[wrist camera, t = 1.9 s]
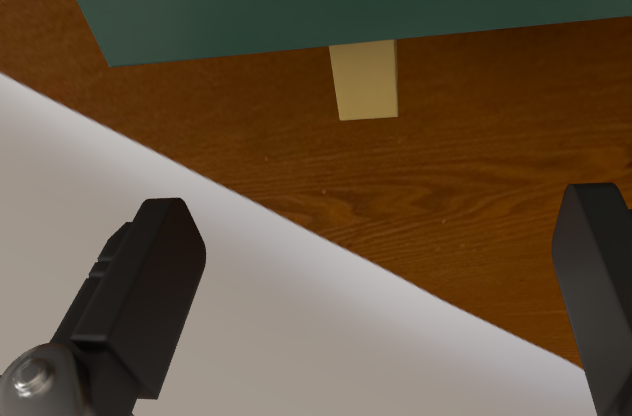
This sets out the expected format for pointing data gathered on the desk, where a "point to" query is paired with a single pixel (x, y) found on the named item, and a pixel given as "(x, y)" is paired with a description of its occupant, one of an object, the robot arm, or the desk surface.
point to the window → (366, 79)
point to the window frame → (306, 23)
